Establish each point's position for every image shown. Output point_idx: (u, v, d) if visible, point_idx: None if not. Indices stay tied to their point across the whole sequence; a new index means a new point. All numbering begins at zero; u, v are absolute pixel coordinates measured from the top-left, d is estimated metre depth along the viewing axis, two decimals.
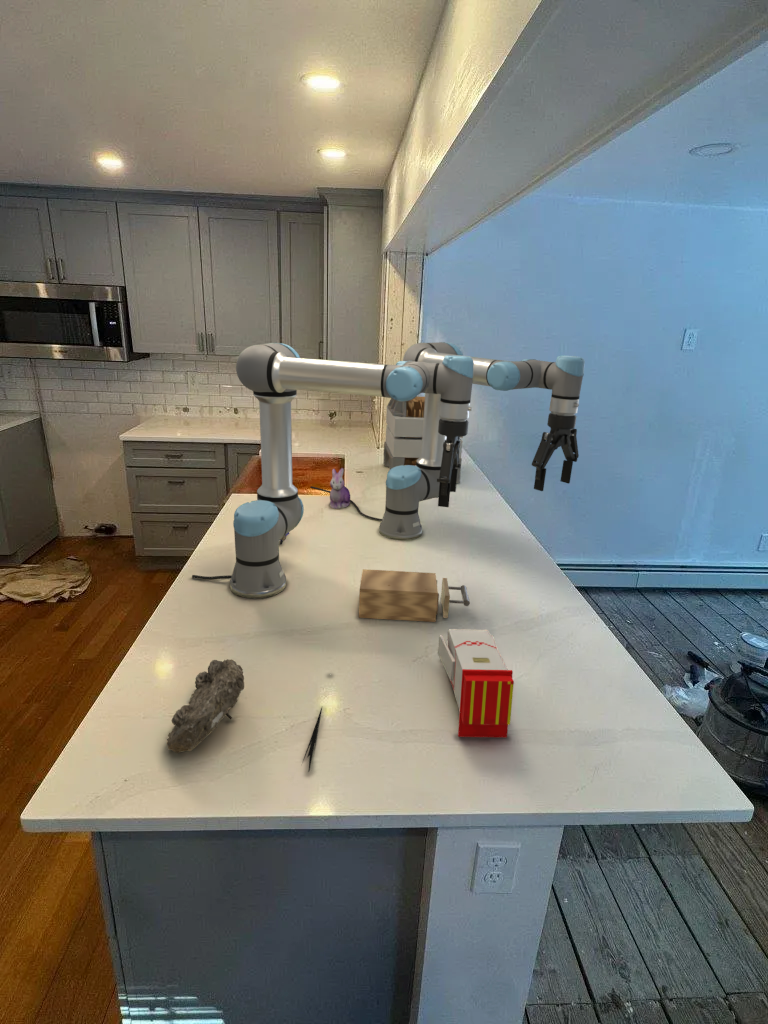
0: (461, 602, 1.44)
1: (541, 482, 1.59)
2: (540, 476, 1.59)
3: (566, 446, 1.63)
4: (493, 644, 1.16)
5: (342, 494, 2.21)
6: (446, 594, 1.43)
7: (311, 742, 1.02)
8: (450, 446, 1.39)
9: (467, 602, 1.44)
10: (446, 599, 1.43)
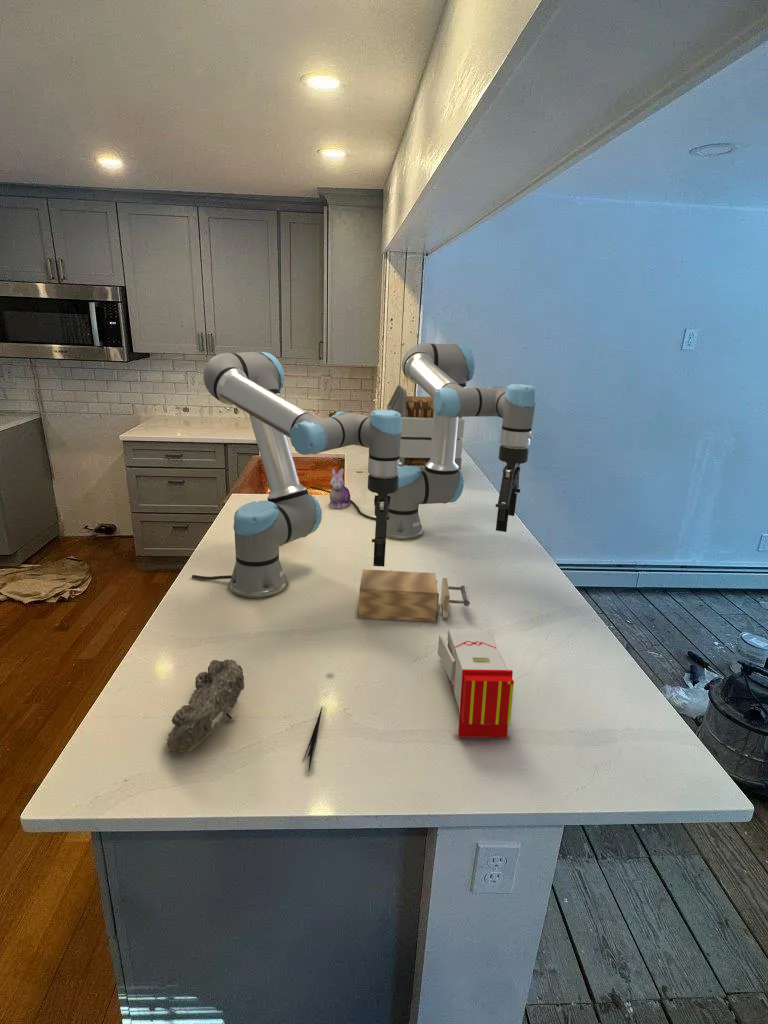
0: (461, 602, 1.44)
1: (505, 522, 1.46)
2: (504, 517, 1.45)
3: None
4: (493, 644, 1.16)
5: (342, 494, 2.21)
6: (446, 594, 1.43)
7: (311, 742, 1.02)
8: (384, 505, 1.34)
9: (467, 602, 1.44)
10: (446, 599, 1.43)
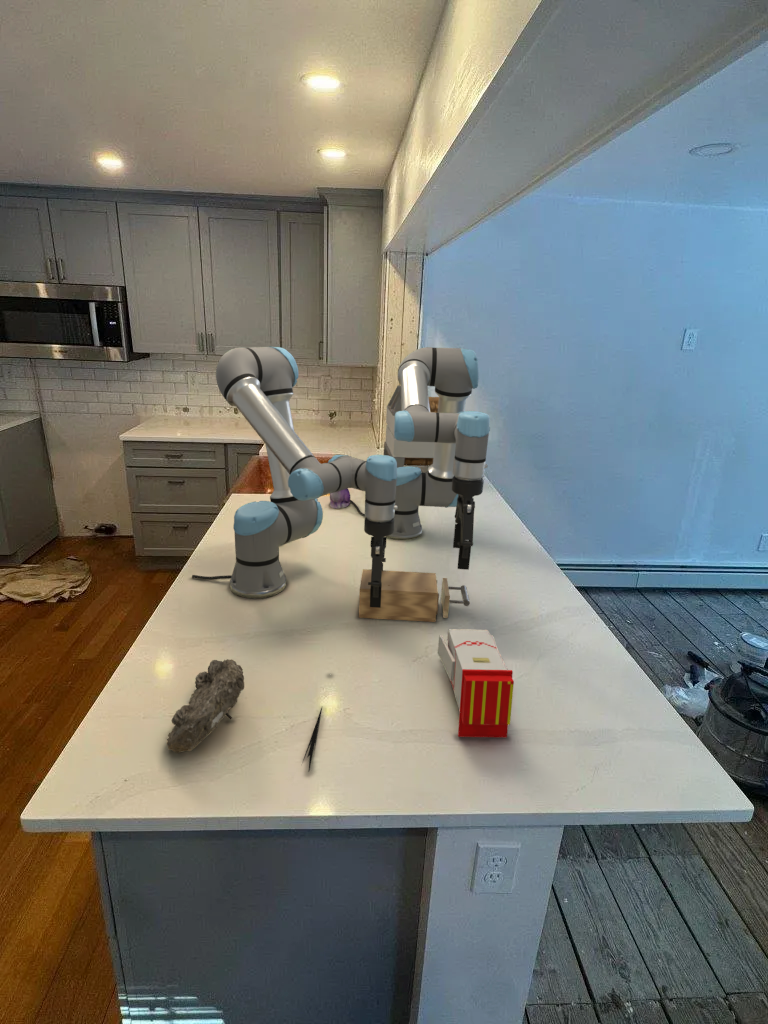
0: (461, 602, 1.44)
1: (467, 560, 1.37)
2: (468, 554, 1.36)
3: None
4: (493, 644, 1.16)
5: (342, 494, 2.21)
6: (446, 594, 1.43)
7: (311, 742, 1.02)
8: (379, 550, 1.37)
9: (467, 602, 1.44)
10: (446, 599, 1.43)
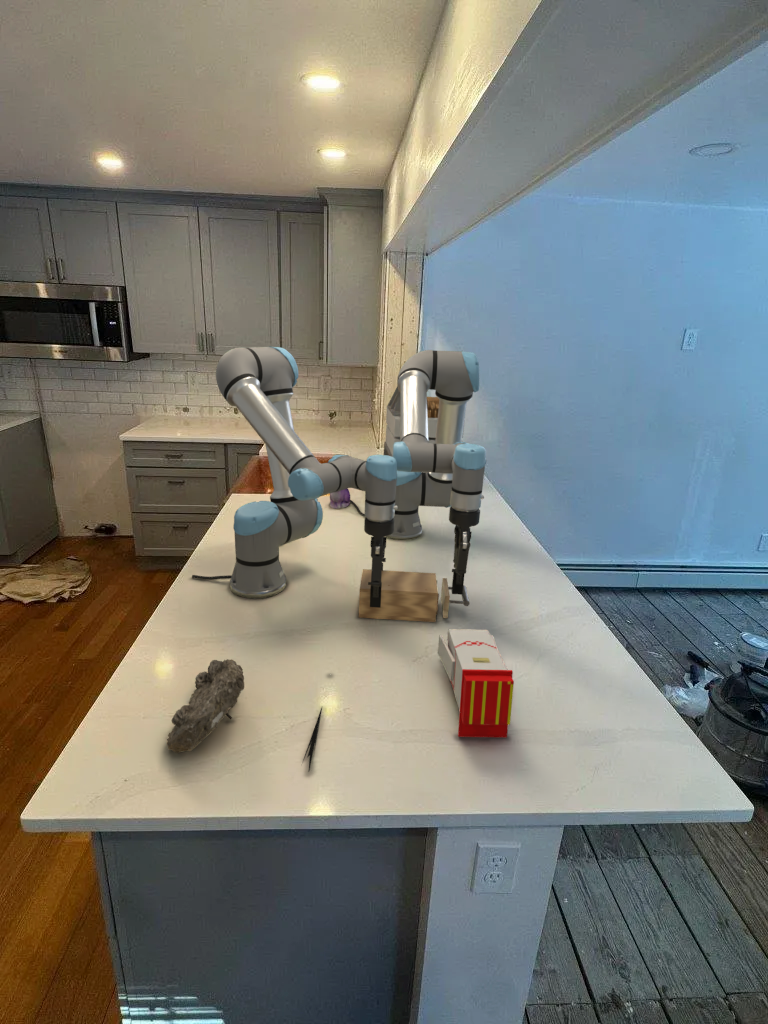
0: (461, 602, 1.44)
1: (461, 586, 1.46)
2: (461, 580, 1.45)
3: None
4: (493, 644, 1.16)
5: (342, 494, 2.21)
6: (446, 594, 1.43)
7: (311, 742, 1.02)
8: (379, 550, 1.37)
9: (467, 602, 1.44)
10: (446, 599, 1.43)
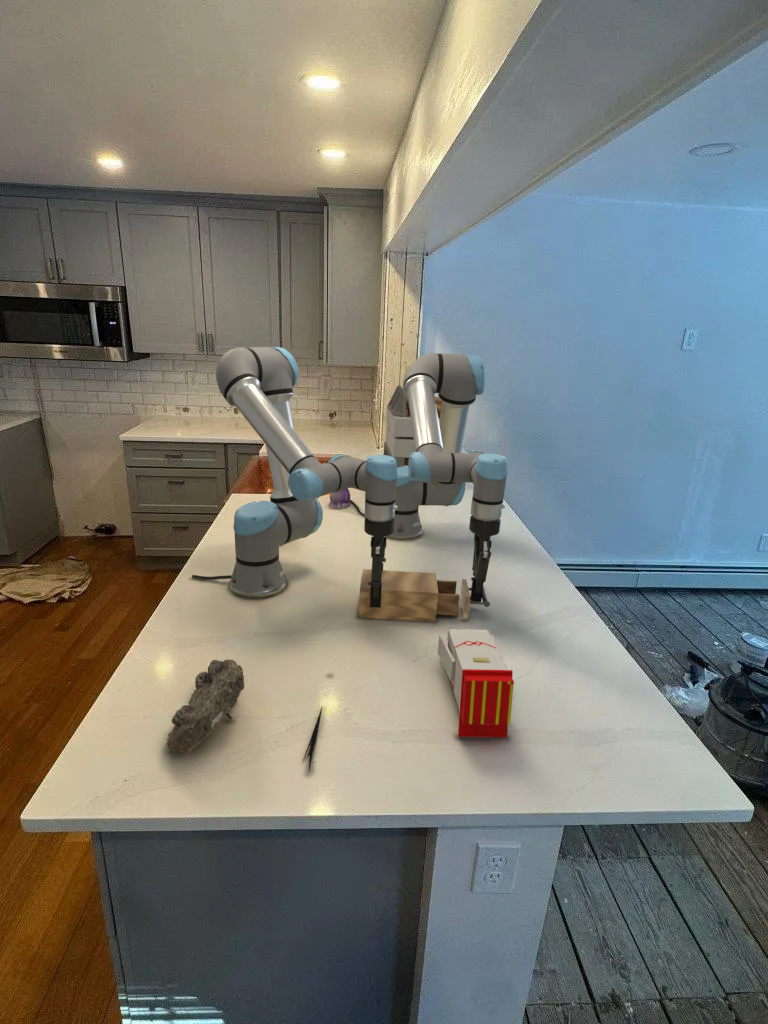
0: (481, 603, 1.44)
1: (480, 594, 1.47)
2: (480, 589, 1.46)
3: None
4: (493, 644, 1.16)
5: (342, 494, 2.21)
6: (466, 595, 1.43)
7: (311, 742, 1.02)
8: (379, 550, 1.37)
9: (487, 603, 1.44)
10: (467, 600, 1.43)
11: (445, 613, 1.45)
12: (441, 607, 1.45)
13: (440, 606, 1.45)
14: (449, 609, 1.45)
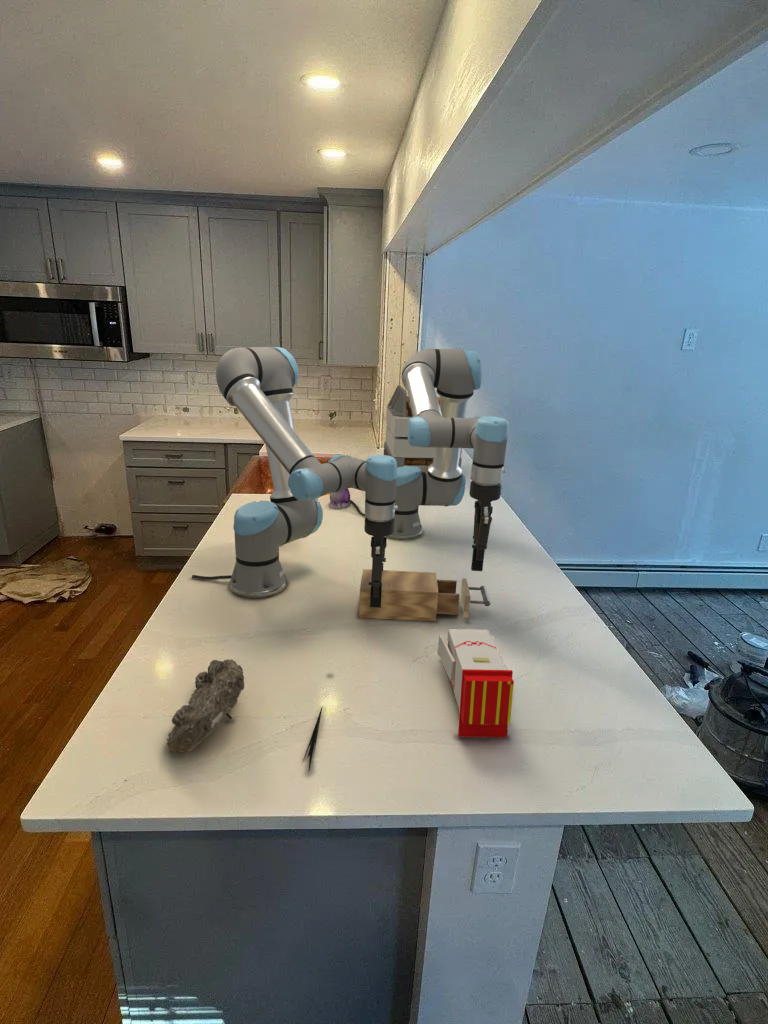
0: (482, 602, 1.44)
1: (481, 562, 1.44)
2: (481, 556, 1.43)
3: None
4: (493, 644, 1.16)
5: (342, 494, 2.21)
6: (467, 595, 1.43)
7: (311, 742, 1.02)
8: (379, 550, 1.37)
9: (488, 602, 1.44)
10: (467, 600, 1.43)
11: (445, 612, 1.45)
12: (441, 606, 1.45)
13: (440, 606, 1.45)
14: (449, 608, 1.45)
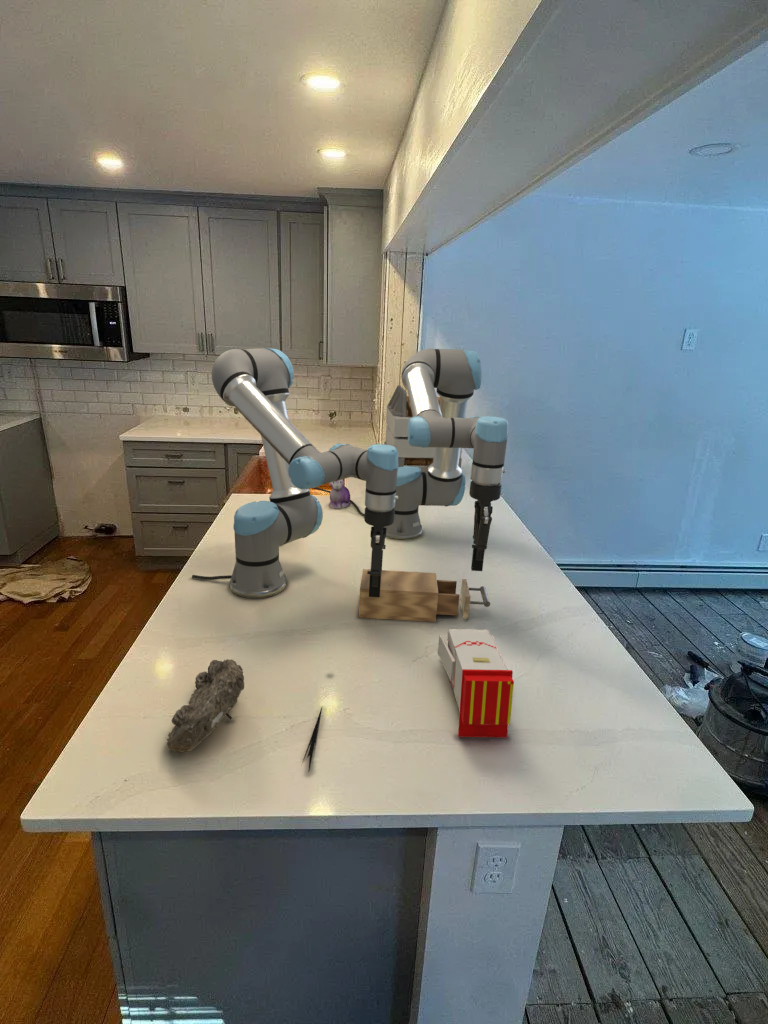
0: (481, 603, 1.44)
1: (481, 562, 1.44)
2: (481, 556, 1.43)
3: None
4: (493, 644, 1.16)
5: (342, 494, 2.21)
6: (467, 595, 1.43)
7: (311, 742, 1.02)
8: (379, 539, 1.36)
9: (487, 603, 1.44)
10: (467, 600, 1.43)
11: (445, 613, 1.45)
12: (441, 607, 1.45)
13: (440, 606, 1.45)
14: (449, 609, 1.45)
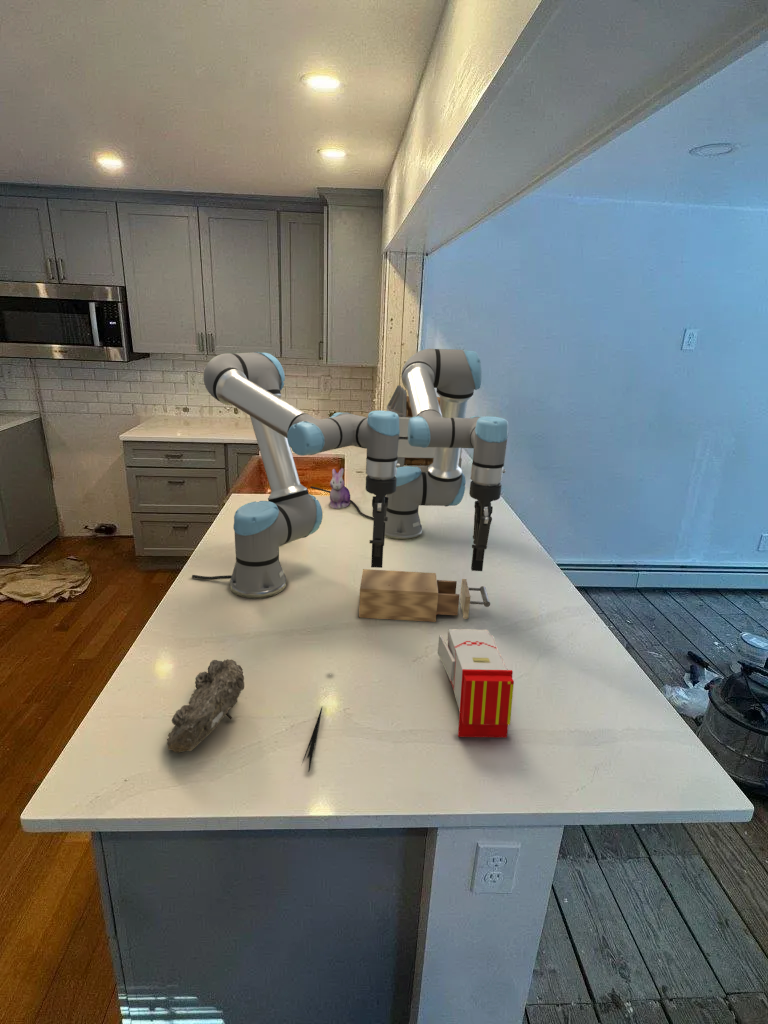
0: (481, 603, 1.44)
1: (481, 562, 1.44)
2: (481, 556, 1.43)
3: None
4: (493, 644, 1.16)
5: (342, 494, 2.21)
6: (467, 595, 1.43)
7: (311, 742, 1.02)
8: (381, 506, 1.33)
9: (487, 603, 1.44)
10: (467, 600, 1.43)
11: (445, 613, 1.45)
12: (441, 607, 1.45)
13: (440, 606, 1.45)
14: (449, 609, 1.45)
